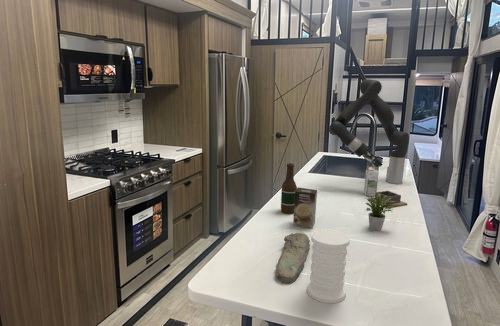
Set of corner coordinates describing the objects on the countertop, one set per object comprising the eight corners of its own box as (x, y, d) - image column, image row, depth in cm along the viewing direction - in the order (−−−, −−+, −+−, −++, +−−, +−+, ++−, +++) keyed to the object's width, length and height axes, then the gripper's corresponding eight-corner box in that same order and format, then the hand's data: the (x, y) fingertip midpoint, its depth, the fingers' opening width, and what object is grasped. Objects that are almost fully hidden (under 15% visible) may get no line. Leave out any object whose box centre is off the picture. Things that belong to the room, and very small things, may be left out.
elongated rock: (267, 285, 114) (298, 292, 111) (269, 270, 112) (300, 277, 110) (288, 235, 146) (312, 240, 143) (289, 224, 144) (314, 228, 142)
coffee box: (292, 225, 157) (294, 191, 154) (295, 220, 163) (297, 187, 160) (313, 228, 154) (315, 193, 151) (315, 223, 160) (317, 189, 157)
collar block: (367, 201, 195) (368, 191, 194) (386, 198, 201) (388, 188, 199) (387, 209, 182) (388, 199, 181) (407, 206, 188) (408, 196, 187)
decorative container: (316, 277, 116) (320, 225, 112) (351, 289, 109) (356, 235, 105) (300, 293, 106) (303, 237, 103) (336, 308, 100) (341, 249, 96)
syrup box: (373, 193, 207) (376, 169, 204) (376, 196, 201) (378, 171, 198) (363, 193, 207) (366, 168, 204) (365, 196, 201) (368, 171, 198)
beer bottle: (298, 210, 177) (300, 163, 171) (293, 215, 170) (295, 166, 164) (283, 207, 180) (285, 161, 174) (277, 212, 173) (279, 164, 168)
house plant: (374, 238, 146) (378, 200, 143) (350, 226, 158) (354, 191, 155) (398, 232, 153) (403, 196, 149) (374, 221, 165) (377, 187, 161)
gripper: (364, 141, 196) (387, 160, 194) (360, 142, 210) (381, 161, 208) (354, 151, 197) (377, 170, 195) (351, 152, 211) (372, 170, 209)
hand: (379, 165), depth 202 cm, fingers open, 8 cm apart
